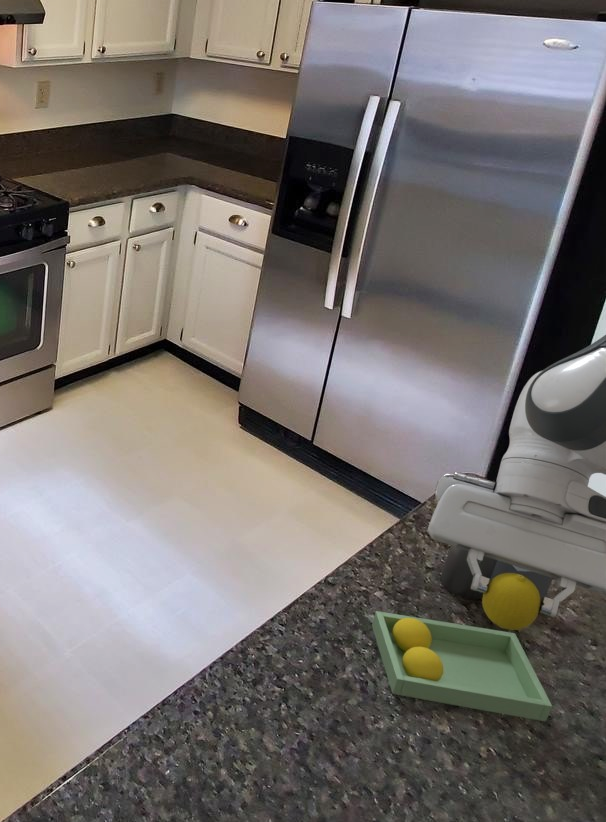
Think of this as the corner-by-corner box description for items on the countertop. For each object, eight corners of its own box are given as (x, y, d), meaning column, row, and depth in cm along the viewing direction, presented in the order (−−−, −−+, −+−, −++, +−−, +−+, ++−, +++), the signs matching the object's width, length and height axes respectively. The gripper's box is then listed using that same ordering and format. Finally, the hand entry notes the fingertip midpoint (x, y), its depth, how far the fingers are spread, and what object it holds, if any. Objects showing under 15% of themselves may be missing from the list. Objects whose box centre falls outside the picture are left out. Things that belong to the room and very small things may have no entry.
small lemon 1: (421, 638, 106) (429, 613, 104) (431, 664, 102) (440, 638, 100) (385, 632, 107) (393, 607, 105) (393, 657, 103) (401, 632, 101)
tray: (508, 650, 105) (515, 633, 103) (544, 724, 94) (552, 706, 93) (370, 627, 108) (375, 610, 107) (391, 697, 98) (397, 678, 97)
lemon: (474, 604, 100) (492, 554, 97) (527, 620, 98) (547, 570, 94) (474, 632, 96) (493, 582, 93) (529, 651, 94) (551, 599, 90)
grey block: (521, 580, 116) (534, 548, 114) (542, 605, 112) (555, 572, 109) (485, 579, 117) (497, 546, 114) (505, 604, 112) (517, 570, 110)
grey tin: (476, 578, 117) (493, 529, 113) (489, 605, 112) (508, 555, 108) (434, 572, 118) (449, 523, 114) (445, 599, 113) (462, 549, 109)
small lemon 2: (432, 667, 101) (441, 642, 100) (443, 695, 98) (452, 669, 96) (394, 661, 102) (402, 636, 101) (403, 688, 99) (412, 662, 97)
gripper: (444, 461, 100) (416, 565, 97) (651, 517, 90) (627, 637, 87) (438, 473, 106) (411, 572, 103) (634, 528, 95) (610, 641, 92)
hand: (512, 602), depth 95 cm, fingers closed on lemon, 5 cm apart
